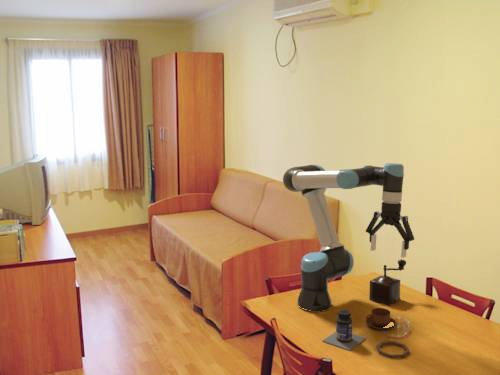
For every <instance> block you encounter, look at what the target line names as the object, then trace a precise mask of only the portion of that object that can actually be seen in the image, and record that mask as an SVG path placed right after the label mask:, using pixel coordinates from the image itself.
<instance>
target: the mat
mask: <svg viewBox="0 0 500 375" xmlns="http://www.w3.org/2000/svg"><path fill="white" fill-rule="evenodd" d="M366 339H367V338H366V337H363V336H361V335H357V334H353V333H352V340H351V341H350V342H340V341H338V340H337V339H336V331H334V332H333V333H332V334H330V335H329V336H327V337H326V338H324V339H322V342H323V343H325V344H329V345H332V346H334V347H337V348H339V349H343V350H345V351H349V352H350V351H352V350H353V349H355V348H356V347H358V346H359V345H360V344H362V343H363V342H365V340H366Z"/></svg>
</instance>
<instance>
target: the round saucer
mask: <svg viewBox="0 0 500 375" xmlns="http://www.w3.org/2000/svg"><path fill="white" fill-rule="evenodd" d="M384 346H396V347H400V348H402V349H403V350H404V351H403V353H394V354H391V353H389V352H385V351H383V350H382V347H384ZM375 349H376V350H377V353H378V354H379V355H380V356H384V357H386V358H389V359H404V358H406V357H407V356H408V355H410V349H409V347H408V346H407V345H406V344H405V343H401V342H399V341H394V340H388V341H387V340H386V341H385V340H383V341H381V342H379V343H377V345H376V346H375Z"/></svg>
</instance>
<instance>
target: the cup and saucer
mask: <svg viewBox="0 0 500 375" xmlns="http://www.w3.org/2000/svg"><path fill="white" fill-rule="evenodd" d="M390 322H393V323H394V326H392V327H389V328H383V327H385V326H387V325H388V324H389V323H390ZM365 323H366V325H367V326H369V327H370V328H372V329H375V330H381V331H383V330H384V331H386V330H391V329H394V327H395V326H396V325H397V321H396V320H395V319H394V318H392V317H391V311H390V310H389V309H387V308H384V307H376V308H373V309H372V310H371V314H367V316H366V317H365Z"/></svg>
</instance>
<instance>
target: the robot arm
mask: <svg viewBox="0 0 500 375" xmlns="http://www.w3.org/2000/svg"><path fill="white" fill-rule="evenodd" d="M404 171H405V169H404V165H403V164H402V163H394V162H388V163H387V162H386V163H384V167H383V166H373V165H363V166H361V167H360V168H352V169H351V168H349V169H333V170H331V169H330V170H325V169H324V167H322V166H321V165H318V164H309V165H303V166H294V167H291V168H289V169H287V170H286V171H285V173H284V174H283V176H282V183H283V185H284V187H285V188H286V189H287V190H288V191H290V192H293V193H295V192H297V193H298V192H299V193H300V192H301V195H302V197H303V198H305V199H306V200H307V203H308V207H309V210H310V211H309V212H310V213H311V214H310V215H311V217H312V220H313V224H314V227H315V230H316V234H317V237H318V240H319V244H320V250H319V251H315V252H314V251H313V252H309V253H306V254H305V255H303V256H302V258H301V265H300V270H301V271H300V273H301V278H300V279H301V286H300V287H301V289H300V292H299V295H298V298H297V306H298V305H299V306H300V307H301V308H304V309H307V310H311V311H320V312H324V311H323V310H325V311H328V310H329V308H330V309H331V308H332V299H331V296H330V293H329V289H328V281H330V280H333V279H336V278H337V279H338V278H340V277H343V276H345V275H348V274H349V273H351V271H352V270H353V267H354V257H353V254H352V252H351V251H350V250H348V249H346V248H345V246H344V244H343V243H341V242H340V240H339V236H338V234H337V231H336V227H335V224H334V221H333V218H332V214H331V212H330V208H329V205H328V201H327V198H326V195H325V192H326V191H327V189H342V190H351V189H355V188H361V187H368V186H379V187H380V186H381V187H382V195H381V196H382V197H381V200H382V202H381V212H380V211H378V210H377V211H374V213H373V216H372V218H371V221H370V222H369V224H368V226H367V227H366V230H365V232H366V233H368V234H369V243H370V251H371V252H373V251H376V248H377V247H376V246H377V234H376V233H377V232H378V231H379V230H380V229H382V227H383V226H384V225H386V226H387V225H389V226H391V227H393V226H394V228H395V229H396V230H397V232H398V234H400V237H401V238H402V239H403V240H402V242H401V253H400V258H401V259H402V258H403V259H404V258H406V257H407V250H409V247H410V242H412V241H414V240H415V237H414V236H415V235H414V234H413V231H412V229H411V226H410V223H409V216H408V215H404V216H403V215H401V211H402V203H401V202H402V198H403V184H404V176H405V175H404V174H405V173H404ZM379 218H381V220H380V221H379V222H378V223H377V221H378V220H379ZM400 220H401V222H402V224H401V222H400ZM376 223H377V224H376ZM402 225H403V226H402ZM301 308H300V309H301ZM311 311H310V312H311Z"/></svg>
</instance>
